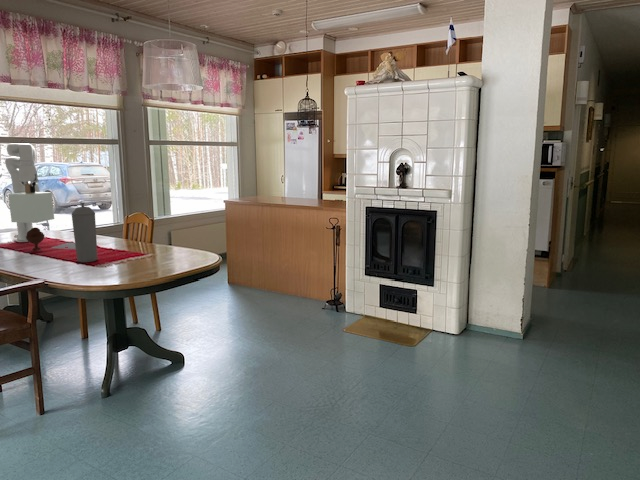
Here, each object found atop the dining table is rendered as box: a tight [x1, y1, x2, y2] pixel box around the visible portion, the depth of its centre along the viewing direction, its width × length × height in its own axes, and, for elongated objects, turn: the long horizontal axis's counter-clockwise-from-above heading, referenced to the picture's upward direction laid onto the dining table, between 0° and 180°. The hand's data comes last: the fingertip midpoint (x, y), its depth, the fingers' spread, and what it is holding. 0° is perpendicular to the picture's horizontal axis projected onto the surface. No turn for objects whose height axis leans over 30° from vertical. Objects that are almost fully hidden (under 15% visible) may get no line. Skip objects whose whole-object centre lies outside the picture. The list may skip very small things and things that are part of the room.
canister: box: [70, 202, 98, 263], centre depth 285 cm, size 13×13×35 cm
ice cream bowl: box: [26, 227, 45, 251], centre depth 317 cm, size 11×11×15 cm
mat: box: [51, 241, 76, 250], centre depth 330 cm, size 20×20×1 cm
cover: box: [7, 184, 55, 224], centre depth 312 cm, size 17×17×24 cm
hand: (30, 191), depth 311 cm, fingers closed on cover, 3 cm apart
